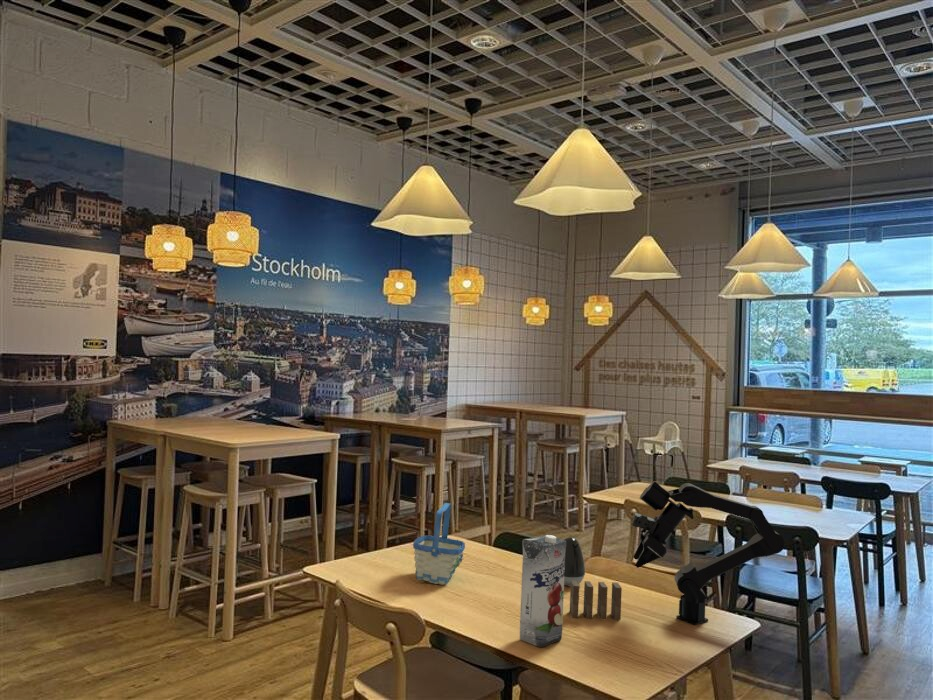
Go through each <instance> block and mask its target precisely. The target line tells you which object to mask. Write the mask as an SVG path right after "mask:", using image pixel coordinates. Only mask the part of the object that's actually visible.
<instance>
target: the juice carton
mask: <svg viewBox="0 0 933 700" xmlns="http://www.w3.org/2000/svg"><path fill="white" fill-rule="evenodd" d="M521 543H522V564H521V565H522V566H521V567H522V569H521V570H522V571H521V587H520V588H521V594H520V596H521V597H520V615H519V616H520V619H519V640H520V641H523V642H526V643H528V644H530V645H534V646H536V647H538V648H543V647H547V646H548V645H550V644H553V643H556V642H559V641H561V640H562V638H563V619H564V595H565V590H564V589H565V585H564V572H565V551H566V541H565V540H564V539H561V538H557V536H555V535H551V534H546V535H545V534H544V535H540V536H538V537H535V538H524V539H522V542H521Z"/></svg>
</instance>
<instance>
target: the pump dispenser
mask: <svg viewBox="0 0 933 700" xmlns="http://www.w3.org/2000/svg"><path fill="white" fill-rule="evenodd" d="M563 540H565V541H566V551H565V572H564V586H568V587H571V581H577V583H578V585H580V584H581V583H582V582H583V580H584V576H585V575H586V566H585V558H584V553H583V551H582V547H581V545H580V543H579V541H578V540H577V539H576V538H575V537H572V536H569V537H566V538H564V539H563Z"/></svg>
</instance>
